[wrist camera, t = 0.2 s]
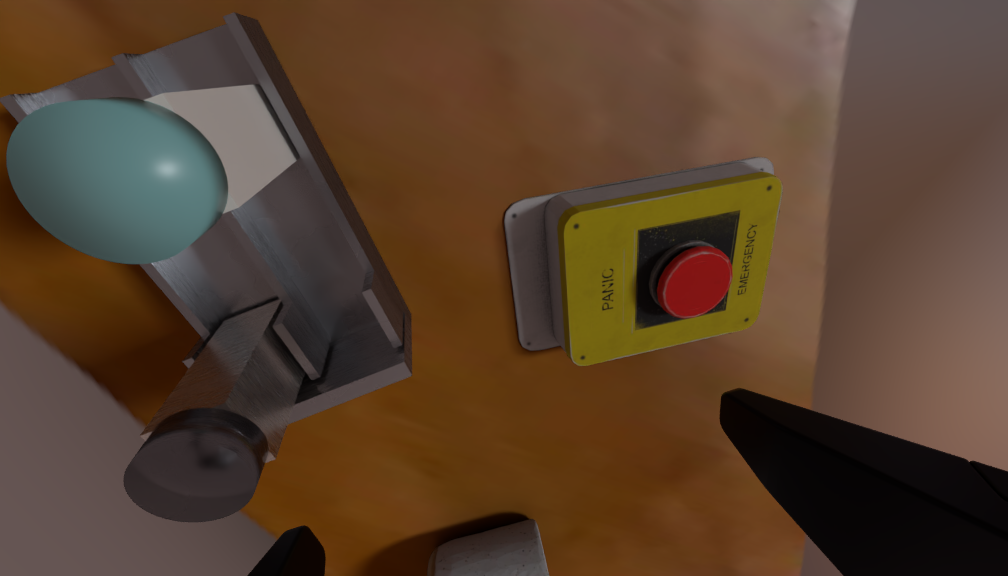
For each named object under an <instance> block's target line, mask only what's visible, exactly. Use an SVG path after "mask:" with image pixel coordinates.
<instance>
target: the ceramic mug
mask: <svg viewBox="0 0 1008 576" xmlns="http://www.w3.org/2000/svg"><path fill="white" fill-rule="evenodd" d="M427 576H549V573H548V569H547V564H546V559H545V555H544V551H543V546H542V542H541V539H540V533H539V530H538V525H537V523H536V521H535V520H534V519H529V520H525V521H522V522H518V523H514V524H510V525H506V526H502V527H498V528H495V529H492V530H488V531H485V532H482V533H478V534H474V535H469V536H465V537H461V538H457V539H453V540H451V541H449V542H446V543H444V544H442V545H440V546H438V547H437V548H435V550H434V551H433V553H432V554H431V556H430V559H429V562H428V572H427Z"/></svg>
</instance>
